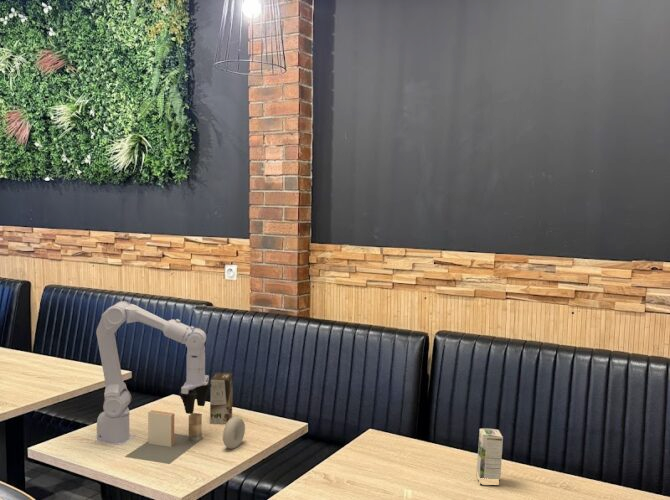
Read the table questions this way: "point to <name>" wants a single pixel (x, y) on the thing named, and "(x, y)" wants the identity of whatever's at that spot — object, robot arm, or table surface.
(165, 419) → the tile
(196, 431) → the wooden block
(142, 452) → the mat
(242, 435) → the grey round disc
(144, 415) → the table surface
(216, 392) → the coffee box
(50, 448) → the table surface
